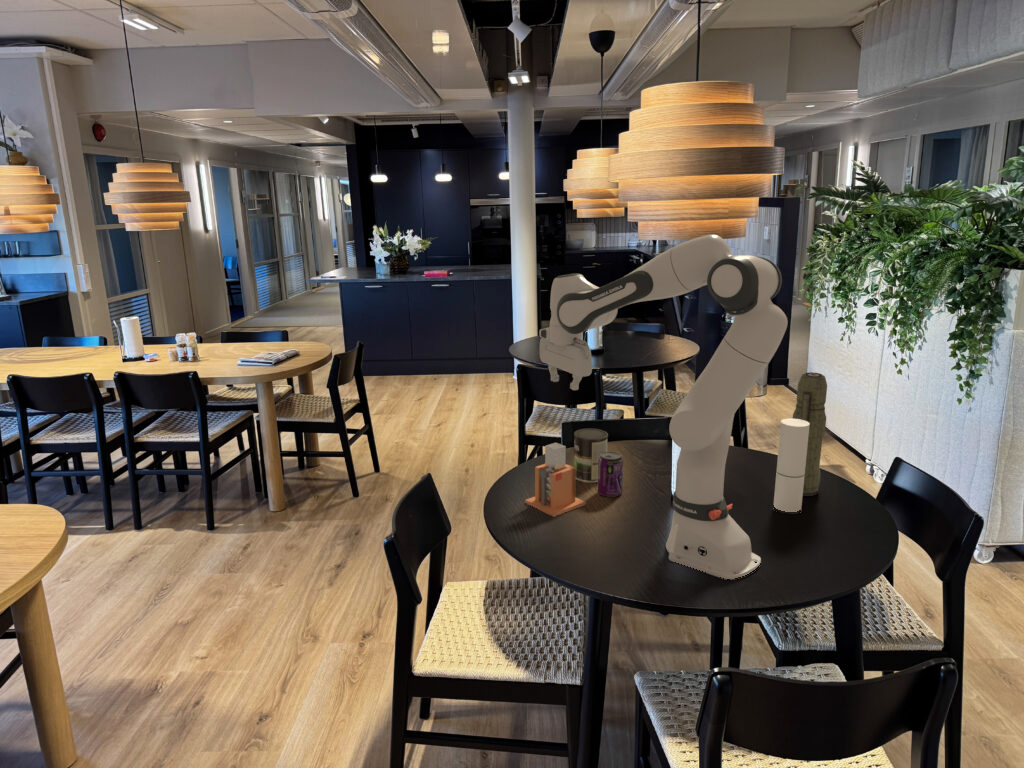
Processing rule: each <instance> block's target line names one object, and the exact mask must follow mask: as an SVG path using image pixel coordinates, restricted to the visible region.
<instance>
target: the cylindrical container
mask: <svg viewBox="0 0 1024 768" xmlns="http://www.w3.org/2000/svg"><path fill="white" fill-rule="evenodd" d="M792 418H793V417H790V418H783V419H781V420H780V427H779V438H778V450H777V460H776V461H777V463H776V474H775V475H776V476H775V485H774V496H773V505H774V507H775V508H776V509H778V510H781V511H785V512H797V511H799V510H801V511H802V505H803V504H802V503H803V498H804V497H803V486H804V476H805V466H806V456H807V446H808V435H809V425H810V423H809V422H807V421H805V420H801V419H792Z"/></svg>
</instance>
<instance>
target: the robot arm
mask: <svg viewBox="0 0 1024 768" xmlns="http://www.w3.org/2000/svg"><path fill="white" fill-rule="evenodd" d="M782 282H783V278H782V272H781V270H780V269H779V267H778V266H777V264H775V263H774V262H773V261H771V260H769V259H768V258H765V257H761V256H755V255H751V254H741V255H737V254H736V255H734V254H733V252H732V251H731V248H730V246H729V245H728V243H727V241H726V240H725V239H724V238H722V237H721V236H719V235H717V234H711V233H710V234H705V235H702V236H699V237H695V238H691V239H690V240H686V241H684V242H681V243H679V244H677V245H674V246H673V247H670V248H668V249H667V250H665V251H663V252H662V253H660V254H658V255H656V256H655V257H653V258H652V259H650V260H649V261H647V262H645V263H644V264H642V265H641V266H639V267H637V268H636V269H633V271H631V272H629V273H628V274H626V275H624V276H623V277H620V278H619V279H618V278H617V279H616V280H614V281H611V282H609V283H607V284H605V285H603V286H600V287H599V286H597V285H595V284H593V283H591V282H590V281H589V280H587V279H586V278H585V276H584V275H583V274H581V273H570V274H569V273H568V274H563V275H558V276H556V277H555V278H554V279H553V281H552V284H551V290H550V299H549V301H550V303H549V305H550V306H549V308H550V311H551V312H550V316H551V317H550V320H549V327H545V328H544V327H543V328H541V329H539V332H538V334H539V337H540V339H539V340H540V341H539V358H540V362H542V363H544V364H547V365H548V367H547V368H548V371H549V374H550V381H551V382H553V383H557V382H559V381H560V375H559V374H558V371H557V370H561V371H565V372H567V373H569V374H572V378H573V379H572V381H571V382H570V384H569V389H571V390H572V391H578V390H579V389H580V387H579V385H580V382H581V381H582V379H583V378H585V377H589V376H590V375H591V374H592V372H593V361H592V359H593V358H592V351H591V349H590V346H589V345H588V343H587V341H586V340H583V334H584V332H586V331H590V330H594V329H597V328H601V327H604V326H606V325H608V324H611V323H613V321H614V320H615V319H616V318H617V316H618V313H619V309H621V308H623V307H625V306H628V305H631V304H636V303H640V302H641V303H642V302H648V301H654V300H655V301H656V300H664V299H669V298H674V297H677V296H682V295H685V294H688V293H690V292H692V291H695V290H698V289H700V288H702V287H705V286H707V289H708V292H709V294H710V295H711V296H712V298H713V299H714V300H715V301H716V302H717V303H718V304H720V305H721V306H722V308H723V309H724V310H725V312H726V313H727V314H728V315H730V316H734V318H733V321H732V324H731V325H730V327H729V329H728V330H727V332H726V334H725V335H724V337H723V339H722V340H721V342H720V343H719V345H718V346H717V348H716V350H715V351H714V354H713V355H712V356H711V358H710V360H709V362H708V363H707V365H706V366H705V368H704V369H703V371H702V372H701V373H700V375H699V376H698V377H697V379H696V380H695V382H694V383H693V385H692V386H691V387H690V388H689V390H688V392H687V393H686V395H685V396H684V398H683V399H682V400H681V402H680V403H679V405H678V406H677V408H676V410H675V411H674V413H673V415H672V416H671V419H670V421H669V422H670V423H669V426H668V427H669V428H668V430H669V435H670V438H671V439H672V441H673V443H674V444H675V445H676V446H677V447H679V448H680V451H679V455H678V458H677V461H676V470H675V471H676V472H675V473H676V475H675V490H674V492H673V494H672V495H673V497H672V508H673V516H672V521H671V528H670V531H669V535H668V538H667V540H666V543H665V548H666V550H667V552H668V560H669V561H670V562H673V563H675V562H676V564H678V563H679V565H681V564H682V566H684V565H685V566H684V567H687V566H688V568H690V567H691V569H693V568H694V570H696V569H697V570H696V571H699V570H700V572H702V571H703V572H702V573H705V572H706V574H709V575H711V576H714V577H717V578H720V577H721V578H720V579H723V578H724V579H723V580H727V579H730V580H736V579H735V578H738V577H741V578H743V577H742V576H744V577H746V576H745V575H747V574H749V573H750V572H752V571H753V570H755V569H756V568H757V567H758V566H759V565H760V563H761V564H762V558H761V556H759V555H758V554H756V553H754V552H752V543H751V538H750V536H749V535H748V534H747V533H746V532H745V531H744V530H743V528H742V527H740V525H739V524H738V523H737V522H736V521H735V519H734V518H733V517H731V515H730V514H729V510H731V509H732V508H733V503H730V504H728V505H727V502H726V499H725V497H724V483H725V473H726V471H725V470H726V465H727V464H726V463H727V457H728V453H729V447H730V443H731V437H732V430H733V425H734V424H733V423H734V419H735V418H734V417H735V414H736V412H737V410H738V409H739V408H740V407H741V405H742V404H743V402H744V400H745V399H746V398H747V396H748V395H749V394H750V393H751V392H752V389H753V388H754V386H755V385H756V383H757V382H758V380H759V379H760V377H761V376H762V374H763V373H764V371H765V370H766V368H767V366H768V365H769V364H770V362H771V360H772V359H773V357H774V356H775V353H776V352H777V350H778V348H779V347H780V345H781V342H782V340H783V338H784V336H785V333H786V331H787V328H788V321H789V320H788V317H787V315H786V314H785V312H784V311H783V310H782V309H781V308H780V307H779V306H778V305H776V304H774V302H772V300H773V298H775V297H776V296H777V294H778V293H779V292H780V290H781V288H782V285H783V284H782ZM755 562H757V563H755ZM760 566H761V565H760ZM760 566H759V567H760ZM755 571H756V570H755ZM752 573H753V572H752ZM749 575H750V574H749ZM747 576H748V575H747ZM738 579H739V578H738Z"/></svg>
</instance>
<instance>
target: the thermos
mask: <svg viewBox="0 0 1024 768" xmlns="http://www.w3.org/2000/svg"><path fill="white" fill-rule="evenodd" d="M799 378H800V379H799V380H798V383H797V388H796V389H797V390H796V404H795V409H794V410H793V411H794V412H793V413H792V417H791V418H792V419H801V420H805V421H807V422H809V423H810V425H809V435H808V446H807V456H806V466H805V476H804V486H803V493H813V492H816V491H818V492H819V487H820V484H821V476H822V475H821V469H820V466H821V465H820V463H821V454H822V444H823V438H824V436H825V433H826V425H827V415H826V411H825V410H826V406H825V404H826V401H827V390H828V383H827V379H826V376H825V375H824V374H822V373H819V372H805V373H803V374H801V377H799Z"/></svg>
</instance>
